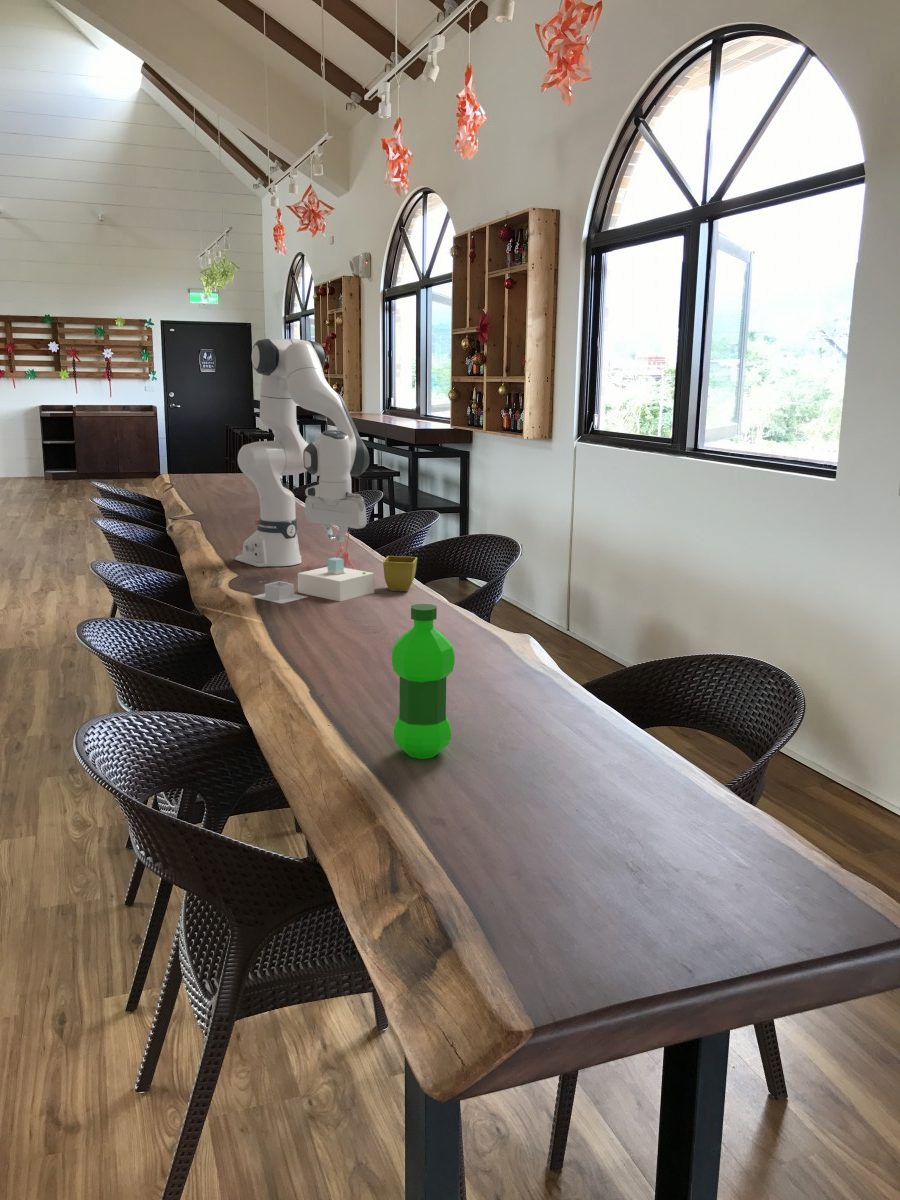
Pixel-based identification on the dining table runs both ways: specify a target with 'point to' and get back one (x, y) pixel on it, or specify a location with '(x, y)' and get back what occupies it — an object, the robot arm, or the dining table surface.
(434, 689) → the plastic bottle
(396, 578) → the flower pot
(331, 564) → the plug
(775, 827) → the dining table surface
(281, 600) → the holster
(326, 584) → the port
